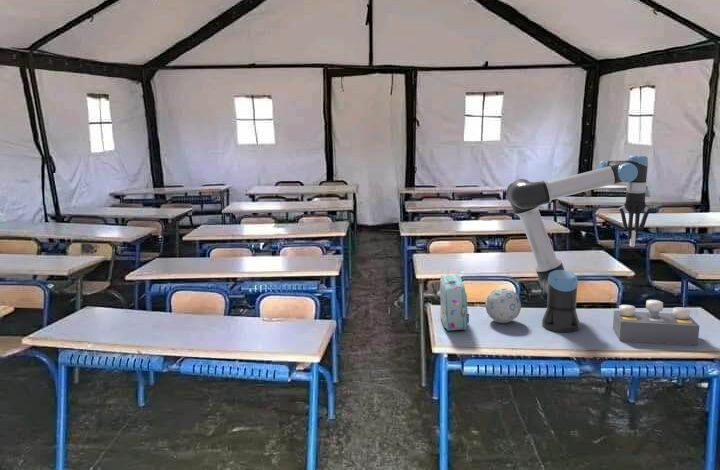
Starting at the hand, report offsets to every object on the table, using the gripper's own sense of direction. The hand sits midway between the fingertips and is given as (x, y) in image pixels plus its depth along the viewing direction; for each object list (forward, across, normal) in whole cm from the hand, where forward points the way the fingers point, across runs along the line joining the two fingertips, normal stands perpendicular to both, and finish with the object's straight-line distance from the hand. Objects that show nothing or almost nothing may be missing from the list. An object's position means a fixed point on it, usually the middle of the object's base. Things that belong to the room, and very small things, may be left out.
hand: (632, 245), depth 249 cm
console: (+32, -5, +24) cm, 41 cm away
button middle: (+26, -5, +22) cm, 35 cm away
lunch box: (+33, +75, +23) cm, 85 cm away
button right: (+29, -15, +22) cm, 39 cm away
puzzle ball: (+33, +54, +16) cm, 65 cm away
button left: (+29, +5, +22) cm, 37 cm away
